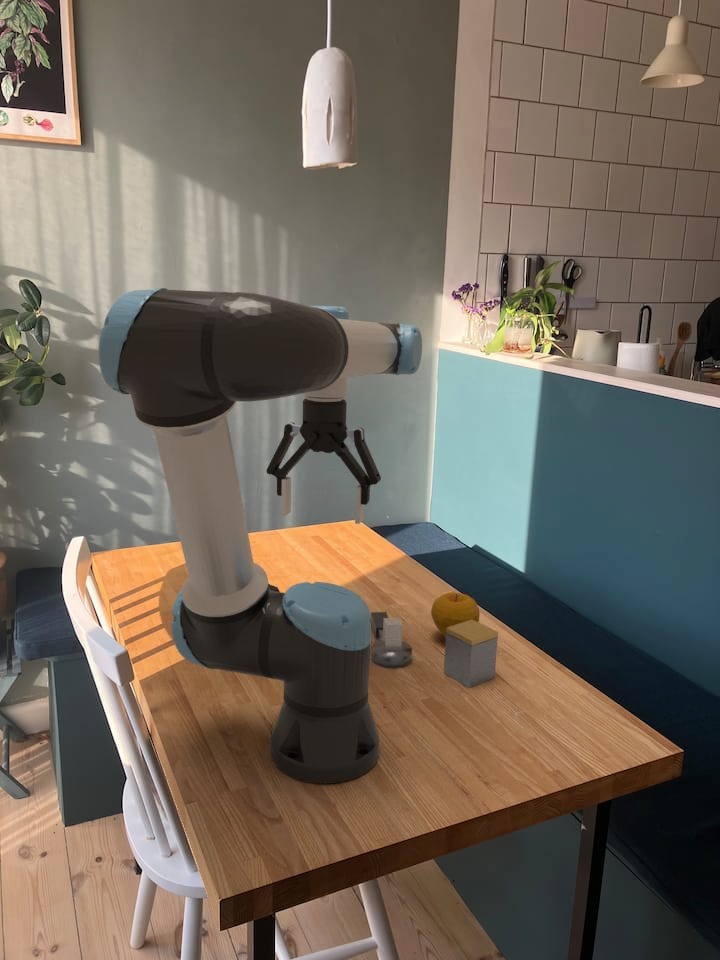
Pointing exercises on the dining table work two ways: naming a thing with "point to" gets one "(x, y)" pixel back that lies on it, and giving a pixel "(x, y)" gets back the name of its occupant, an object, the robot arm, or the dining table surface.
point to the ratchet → (389, 642)
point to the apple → (453, 610)
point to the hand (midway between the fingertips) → (322, 517)
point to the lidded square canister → (470, 653)
